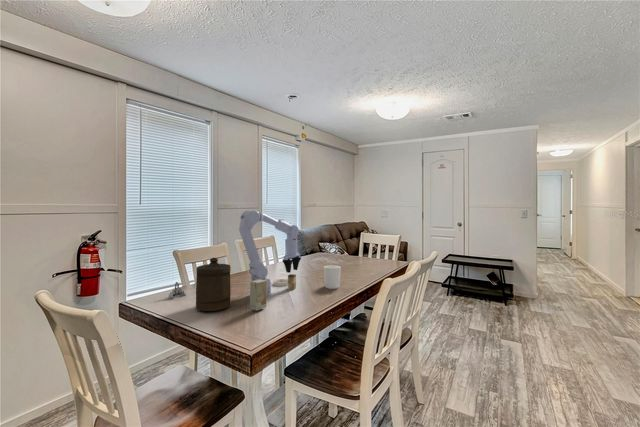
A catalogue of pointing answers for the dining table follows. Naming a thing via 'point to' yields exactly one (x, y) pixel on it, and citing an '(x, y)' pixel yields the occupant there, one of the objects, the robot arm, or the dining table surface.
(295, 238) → the robot arm
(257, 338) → the dining table surface
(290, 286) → the brown rectangular block
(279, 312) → the dining table surface
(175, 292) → the house of cards
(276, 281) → the jar dish
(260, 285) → the skincare box
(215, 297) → the wooden container
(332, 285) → the candle holder
